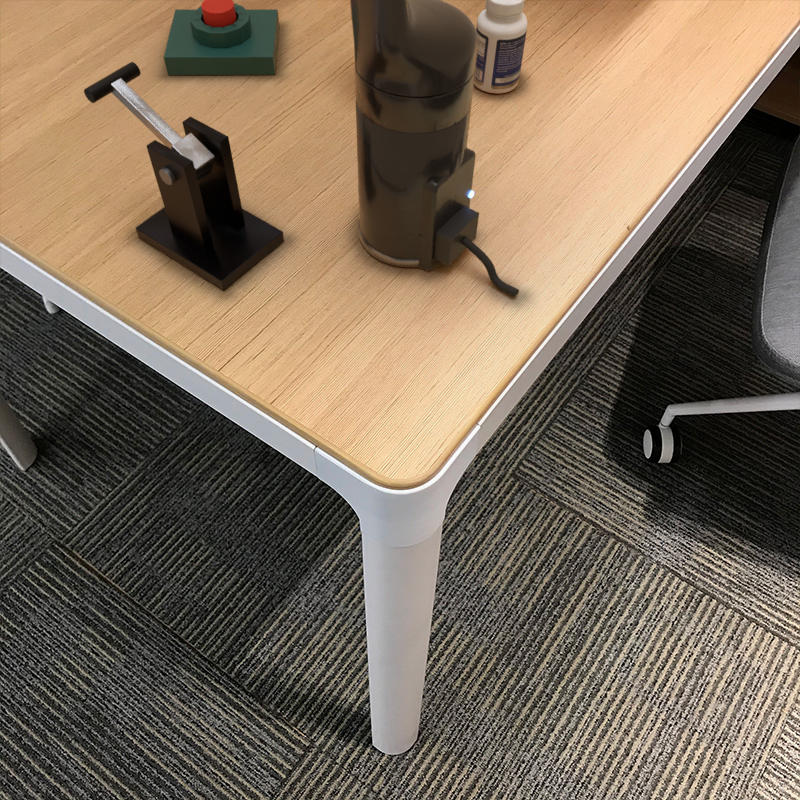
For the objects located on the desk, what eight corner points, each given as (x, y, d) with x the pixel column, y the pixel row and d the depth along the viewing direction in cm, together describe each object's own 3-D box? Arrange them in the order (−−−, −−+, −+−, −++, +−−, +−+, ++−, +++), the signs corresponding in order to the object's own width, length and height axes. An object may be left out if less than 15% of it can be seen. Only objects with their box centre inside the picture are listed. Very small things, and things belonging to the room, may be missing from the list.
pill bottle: (524, 74, 88) (539, -12, 80) (509, 100, 85) (523, 13, 77) (480, 63, 89) (490, -23, 81) (464, 87, 86) (472, 1, 78)
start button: (237, 11, 87) (235, -4, 86) (235, 28, 85) (232, 13, 84) (205, 11, 87) (203, -4, 86) (202, 28, 85) (199, 13, 84)
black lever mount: (138, 237, 71) (103, 138, 63) (200, 192, 75) (176, 93, 66) (223, 291, 68) (200, 194, 59) (284, 241, 72) (270, 143, 63)
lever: (83, 100, 64) (83, 81, 61) (129, 73, 66) (131, 53, 64) (180, 194, 64) (183, 178, 62) (223, 164, 66) (227, 147, 64)
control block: (279, 27, 92) (275, -7, 89) (275, 75, 87) (270, 41, 83) (179, 27, 92) (171, -7, 89) (168, 75, 86) (159, 41, 83)
